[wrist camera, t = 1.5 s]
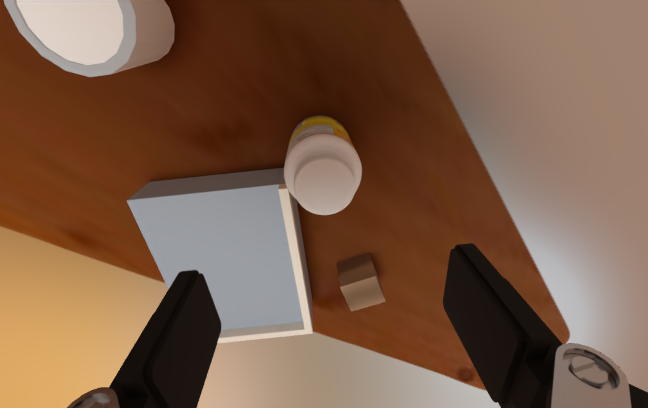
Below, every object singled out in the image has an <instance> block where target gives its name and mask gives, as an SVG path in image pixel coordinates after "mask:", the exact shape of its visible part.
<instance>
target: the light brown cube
mask: <svg viewBox="0 0 648 408" xmlns="http://www.w3.org/2000/svg"><path fill="white" fill-rule="evenodd" d="M337 268H338V276H339V284H340V289H341V291H342V293H343V295H344V297H345V299H346V301H347V303H348V305H349V308H350V310H351V312H352V311H355V310H358V309H362V308H365V307H369V306H372V305H375V304H379V303H382V302H386V301H385V298H384V295H383V291H382V288H381V285H380V281H379V278H378V275H377V272H376V270H375V267H374V264H373V262H372V259H371V256H370V254H369V253H367V254H364V255H361V256H358V257H355V258H351V259H348V260H345V261H342V262H339V263H337Z"/></svg>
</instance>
